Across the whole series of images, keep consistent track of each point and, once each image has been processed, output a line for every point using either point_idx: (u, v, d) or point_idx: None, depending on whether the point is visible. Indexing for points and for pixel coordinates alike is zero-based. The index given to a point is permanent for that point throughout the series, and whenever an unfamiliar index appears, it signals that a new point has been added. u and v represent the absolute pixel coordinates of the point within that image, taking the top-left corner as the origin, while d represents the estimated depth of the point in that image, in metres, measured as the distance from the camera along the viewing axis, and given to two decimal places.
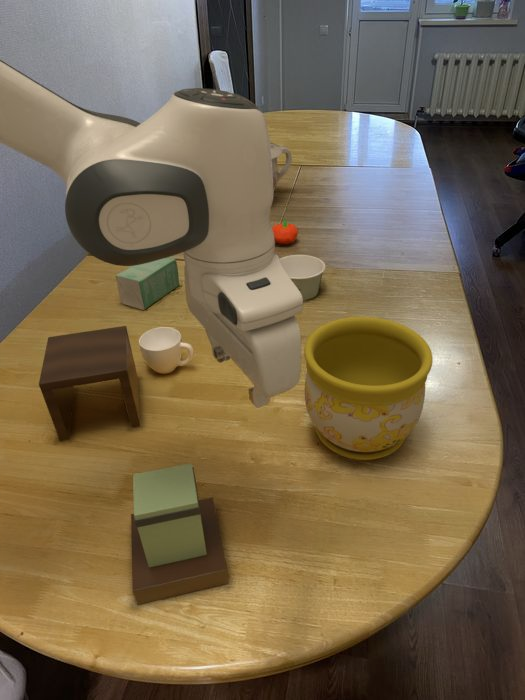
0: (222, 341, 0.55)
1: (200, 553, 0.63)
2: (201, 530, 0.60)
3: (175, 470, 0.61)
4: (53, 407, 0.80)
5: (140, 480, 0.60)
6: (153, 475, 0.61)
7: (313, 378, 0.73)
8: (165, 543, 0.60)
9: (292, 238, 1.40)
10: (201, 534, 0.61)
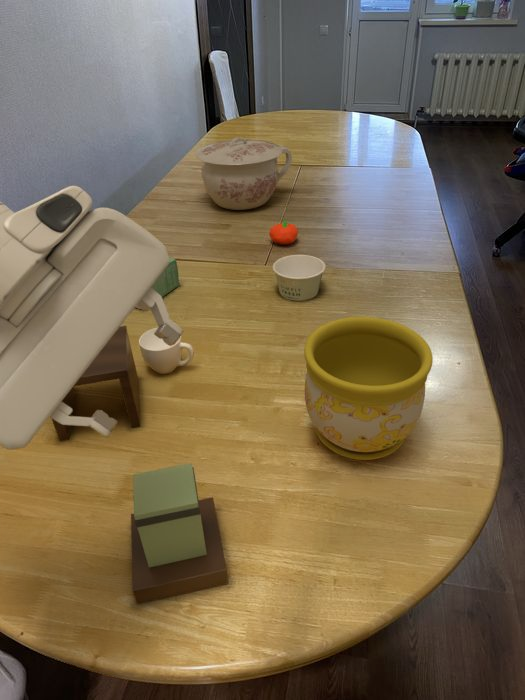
0: (91, 333, 0.40)
1: (200, 553, 0.63)
2: (201, 530, 0.60)
3: (175, 470, 0.61)
4: None
5: (140, 480, 0.60)
6: (153, 475, 0.61)
7: (313, 378, 0.73)
8: (165, 543, 0.60)
9: (292, 238, 1.40)
10: (201, 534, 0.61)
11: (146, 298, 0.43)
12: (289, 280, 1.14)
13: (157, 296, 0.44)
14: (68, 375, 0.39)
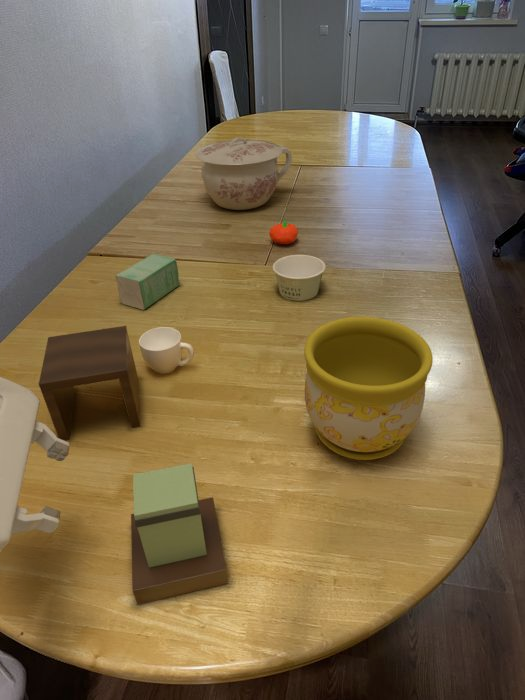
0: (15, 451, 0.51)
1: (200, 553, 0.63)
2: (201, 530, 0.60)
3: (175, 470, 0.61)
4: (53, 407, 0.80)
5: (140, 480, 0.60)
6: (153, 475, 0.61)
7: (313, 378, 0.73)
8: (165, 543, 0.60)
9: (292, 238, 1.40)
10: (201, 534, 0.61)
11: (36, 427, 0.56)
12: (289, 280, 1.14)
13: (42, 424, 0.57)
14: (15, 482, 0.48)
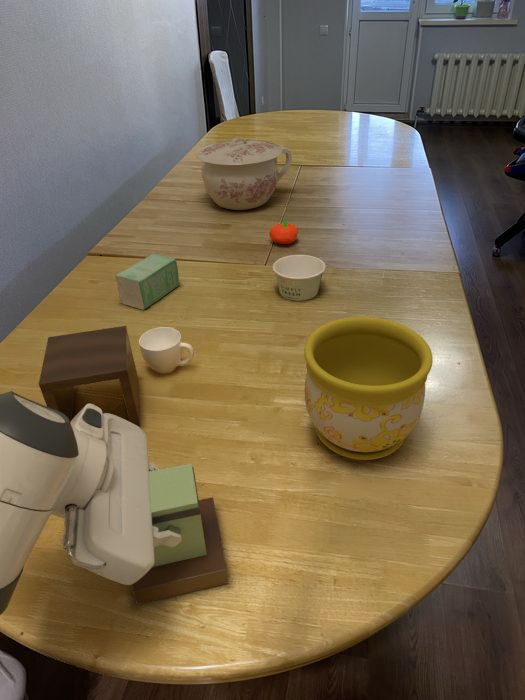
0: (141, 484, 0.58)
1: (200, 553, 0.63)
2: (201, 530, 0.60)
3: (175, 470, 0.61)
4: (53, 407, 0.80)
5: None
6: (153, 475, 0.61)
7: (313, 378, 0.73)
8: None
9: (292, 238, 1.40)
10: (201, 534, 0.61)
11: (148, 466, 0.63)
12: (289, 280, 1.14)
13: (152, 464, 0.64)
14: (147, 512, 0.56)
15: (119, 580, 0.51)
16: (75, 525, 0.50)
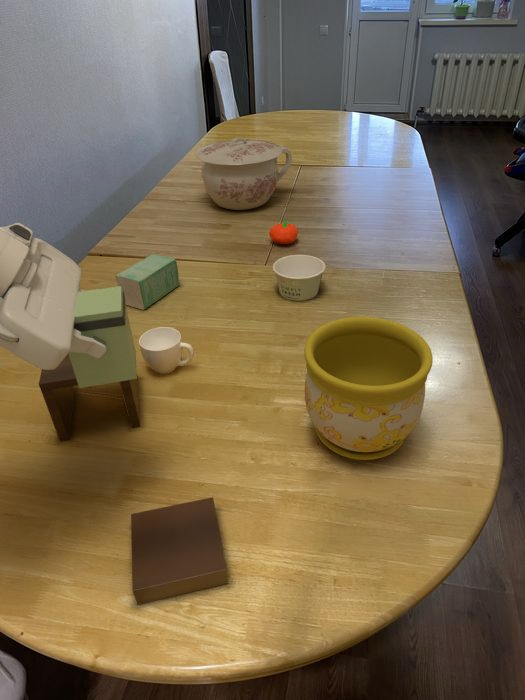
0: (67, 296, 0.60)
1: (130, 376, 0.64)
2: (128, 346, 0.61)
3: (104, 290, 0.62)
4: (53, 407, 0.80)
5: None
6: (82, 294, 0.62)
7: (313, 378, 0.73)
8: (93, 359, 0.61)
9: (292, 238, 1.40)
10: (128, 351, 0.62)
11: None
12: (289, 280, 1.14)
13: None
14: (69, 315, 0.57)
15: (34, 361, 0.52)
16: None
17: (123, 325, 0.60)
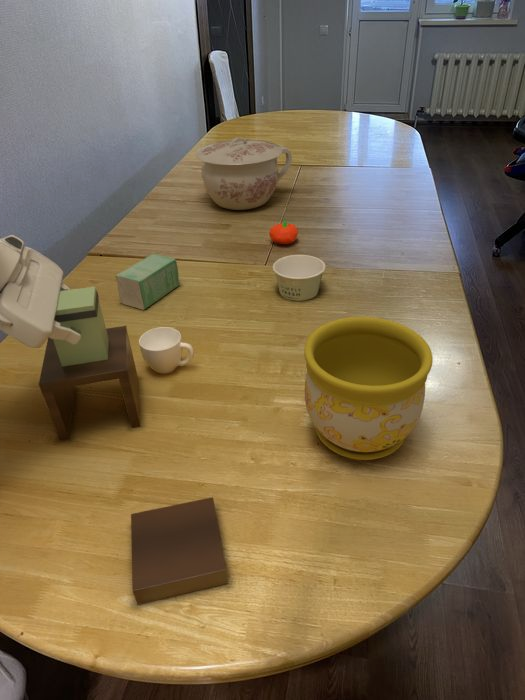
0: (50, 292, 0.77)
1: (102, 357, 0.81)
2: (100, 333, 0.79)
3: (81, 290, 0.80)
4: (53, 407, 0.80)
5: None
6: (64, 292, 0.79)
7: (313, 378, 0.73)
8: None
9: (292, 238, 1.40)
10: (100, 337, 0.79)
11: (62, 286, 0.82)
12: (289, 280, 1.14)
13: (65, 286, 0.83)
14: (52, 306, 0.74)
15: (24, 341, 0.69)
16: None
17: (95, 317, 0.77)
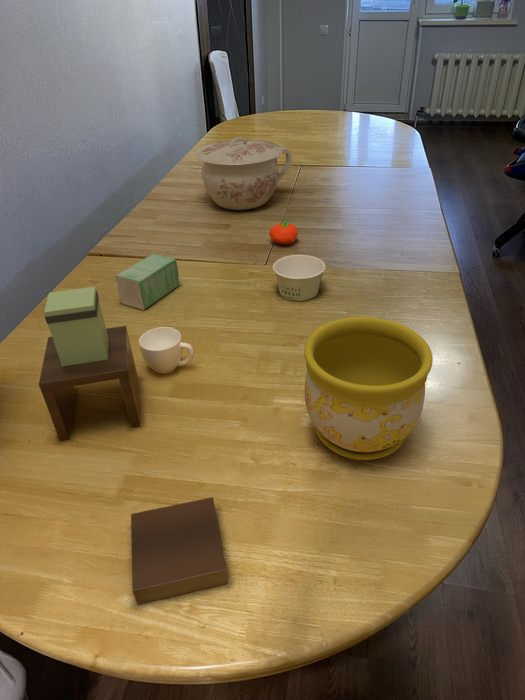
0: None
1: (102, 357, 0.81)
2: (100, 333, 0.79)
3: (81, 290, 0.80)
4: (53, 407, 0.80)
5: (53, 295, 0.79)
6: (64, 292, 0.79)
7: (313, 378, 0.73)
8: (72, 343, 0.79)
9: (292, 238, 1.40)
10: (100, 337, 0.79)
11: None
12: (289, 280, 1.14)
13: None
14: None
15: None
16: None
17: (95, 317, 0.77)
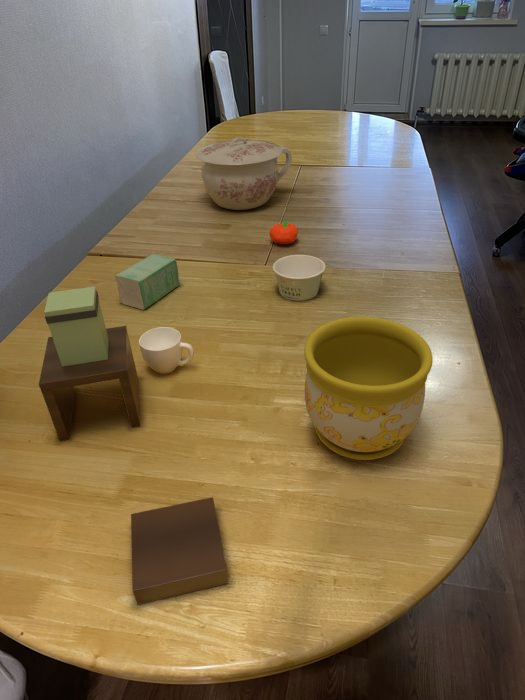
0: None
1: (102, 357, 0.81)
2: (100, 333, 0.79)
3: (81, 290, 0.80)
4: (53, 407, 0.80)
5: (53, 295, 0.79)
6: (64, 292, 0.79)
7: (313, 378, 0.73)
8: (72, 343, 0.79)
9: (292, 238, 1.40)
10: (100, 337, 0.79)
11: None
12: (289, 280, 1.14)
13: None
14: None
15: None
16: None
17: (95, 317, 0.77)
